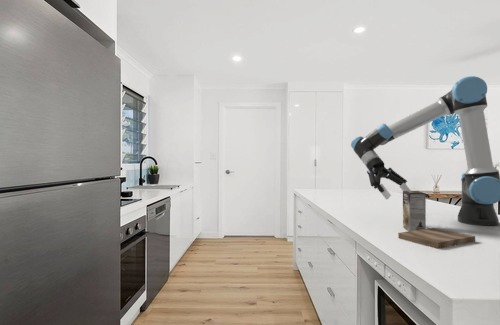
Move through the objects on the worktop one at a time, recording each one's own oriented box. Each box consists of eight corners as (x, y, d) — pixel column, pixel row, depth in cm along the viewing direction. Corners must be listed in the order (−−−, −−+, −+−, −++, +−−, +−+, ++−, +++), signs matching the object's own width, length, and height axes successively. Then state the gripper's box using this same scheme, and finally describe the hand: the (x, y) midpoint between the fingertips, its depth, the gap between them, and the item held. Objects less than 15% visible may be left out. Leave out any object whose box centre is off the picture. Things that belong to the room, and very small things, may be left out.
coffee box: (402, 227, 127) (402, 190, 127) (418, 228, 126) (418, 190, 126) (409, 232, 118) (409, 192, 118) (426, 233, 117) (426, 192, 117)
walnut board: (434, 232, 117) (433, 227, 117) (475, 241, 104) (475, 236, 104) (398, 238, 110) (398, 232, 110) (438, 248, 96) (437, 242, 96)
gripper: (387, 167, 149) (414, 200, 135) (348, 168, 139) (373, 203, 125) (396, 156, 144) (425, 189, 130) (356, 156, 134) (383, 192, 120)
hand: (400, 196), depth 127 cm, fingers open, 13 cm apart
